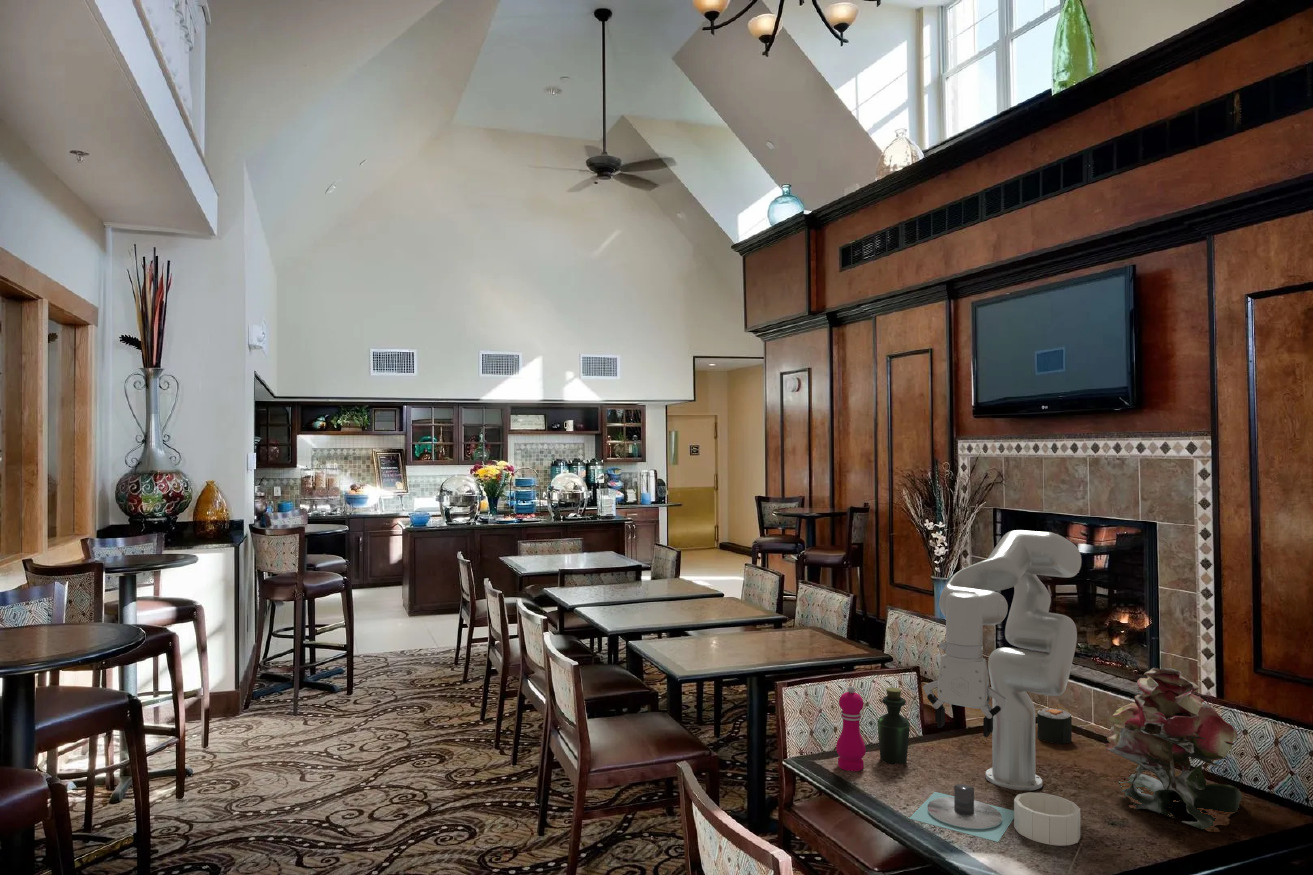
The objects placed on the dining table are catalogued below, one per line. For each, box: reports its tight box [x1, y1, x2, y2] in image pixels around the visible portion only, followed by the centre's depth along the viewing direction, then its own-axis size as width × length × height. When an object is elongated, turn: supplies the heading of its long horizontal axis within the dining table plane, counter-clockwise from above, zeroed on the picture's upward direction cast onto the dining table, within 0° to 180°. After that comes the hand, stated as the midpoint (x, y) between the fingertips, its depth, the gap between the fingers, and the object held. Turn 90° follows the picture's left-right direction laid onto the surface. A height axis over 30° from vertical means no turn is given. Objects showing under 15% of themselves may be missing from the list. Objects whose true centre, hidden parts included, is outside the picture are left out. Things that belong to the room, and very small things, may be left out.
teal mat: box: [908, 791, 1014, 843], centre depth 179 cm, size 18×18×1 cm
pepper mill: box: [835, 685, 867, 772], centre depth 208 cm, size 7×7×20 cm
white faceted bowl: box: [1013, 791, 1081, 847], centre depth 171 cm, size 12×12×6 cm
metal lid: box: [928, 783, 1002, 830], centre depth 179 cm, size 15×15×6 cm
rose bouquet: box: [1104, 667, 1243, 830], centre depth 190 cm, size 26×29×30 cm
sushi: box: [1036, 707, 1073, 745], centre depth 231 cm, size 8×8×8 cm
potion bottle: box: [876, 687, 911, 766], centre depth 213 cm, size 8×8×18 cm
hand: (963, 730), depth 179 cm, fingers open, 9 cm apart
